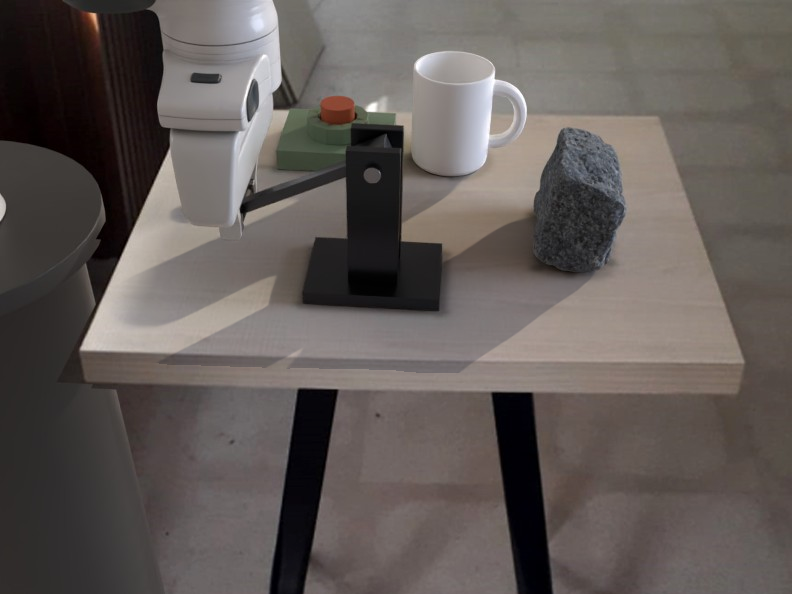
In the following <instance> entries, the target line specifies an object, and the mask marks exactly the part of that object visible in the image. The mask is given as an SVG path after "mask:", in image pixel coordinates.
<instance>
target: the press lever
mask: <svg viewBox="0 0 792 594" xmlns="http://www.w3.org/2000/svg"><path fill="white" fill-rule="evenodd" d="M355 146H365V147H386V148H392V146H391V144H390V142H389V139H388V137H387V135H386V134H384V135H381V136H379V137H376V138H373V139H371V140H368V141H365V142H362V143H360V144H357V145H355ZM342 179H346V160H344V161H342V162H339V163H336V164H333V165H331V166H328V167H325V168H323V169H320V170H317V171H311V172H309V173H306V174H303V175H301V176H298V177H295V178H293V179H290V180H288V181H284V182H282V183H279V184H276V185H273V186H271V187H268V188H265V189H262V190H260V191H257V193H254V194H253V192H252V190H251V188H249V187H248V186H247V189H246V192H245V194H244V197H243V200H242V203H241V205H240V208H239V210H240V213H241V214H243V223H244V222H245V219H246V217H247V214H248V213H250V212H253V211H256V210H258V209H262V208H264V207H268V206H270V205H272V204H275V203H278V202H281V201H284V200H286V199H289V198H292V197H296V196H298V195H300V194H303V193H306V192H309V191H312V190H314V189H317V188H320V187H323V186H326V185H328V184H331V183H334V182H336V181H339V180H340V181H341V180H342Z"/></svg>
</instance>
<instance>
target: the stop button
mask: <svg viewBox="0 0 792 594" xmlns="http://www.w3.org/2000/svg"><path fill="white" fill-rule="evenodd" d="M319 105H321V120H322V121H323V122H326V123H329V124H335V125H342V124H347V123H351V122H352V121H354V119H355V108H354V105H355V101H354V100H353V98H351V97H348V96H344V95H330V96H327V97H325V98H323V99H322V100H321V101H320V104H319Z"/></svg>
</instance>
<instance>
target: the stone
mask: <svg viewBox="0 0 792 594" xmlns="http://www.w3.org/2000/svg"><path fill="white" fill-rule="evenodd" d="M623 192H624V189H623V181H622V170H621V163H620V161H619V158H618V154H617V150H616V149H615V148H614V147H613V145H612V144H609V143H606V142H605V141H604V140H603V139H602V137H601V136H600V135H598V134H595V133H593V132H590V131H588V130H586V129H582V128H576V127H570V126H567V127H563V128H561V129H560V131H559V133H558V134H557V139H556V145H555V147H554V149H553V150H552V153H551V155H550V156H549V159H547V161H546V163H545V165H544V167H543V169H542V172H541V175H540V179H539V189H538V190H537V192H535V196H534V198H533V213H534V215H535V216H536V222H535V227H534V229H533V235H532V245H533V247H532V248H533V249H532V251H533V252H532V253H533V254H534V256H535V258H537V259H538V260H540V262H542V263H544V264H545V265H549V266H554V267H555V268H556V269H558V270H561V271H568V272H573V273H591V272H595V271H599V270H601V269H602V268H603V267H604V266H605V265H607V264H608V262H609V261H610V258H611V255H612V252H613V249H614V248H613V247H614V244H615V243H616V239H617V231H618V229H619V227H620V226H621V225H622V223H623V221H624V219H625V217H626V212H627V210H628V208H627V207H628V206H627V203H626V200H625V199H626V198H625V196H624V194H623Z"/></svg>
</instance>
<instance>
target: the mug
mask: <svg viewBox="0 0 792 594" xmlns="http://www.w3.org/2000/svg"><path fill="white" fill-rule="evenodd" d="M412 75H413V76H412V102H411V103H412V105H411V106H412V107H411V137H410V139H411V141H410V150H411V157H412V160H413V161H414V163H415V164H416V165H417V166H418V167H419V168H420V169H421V170H423V171H425V172H427V173H429V174H432V175H437V176H441V177H461V176H465V175H470V174H472V173H475V172H477V171H478V170H479V169H480V168H482V167H483V166H484V165H485V163H486V161H487V158H488V151H489V149H491V150H492V149H500V148H504V147H506V146H508V145H510V144H511V143H513V142H515V141H516V140H517V139H518V138H519V136H520V135H521V133H522V132H523V130H524V127H525V125H526V120H527V114H528V111H527V110H528V109H527V103H526V99H525V97H524V96H523V94H522V92H521V91H520V90H519V89H518V88H517V87H516V86H515V85H513V84H511V83H510V82H507V81H505V80H501V79H495V76H496V68H495V65H494V64H493V62H491V61H490V60H489V59H487V58H486V57H484V56H481V55H478V54H475V53H471V52H467V51H459V50H458V51H457V50H443V51H436V52H431V53H428V54H425V55H422V56H420V57H419V58H418V59H416V60H415V62H414V64H413V74H412ZM494 96H496V97H502V98H505V99H508V101H510V103H511V106H512V107H513V120H512V123H511V125H510V126H509V127H508V128H507V130H505V131H504V132H502V133H497V134H491V133H490V131H491V122H492V121H491V119H492V110H493V109H492V108H493V100H494V99H493V97H494Z"/></svg>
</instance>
